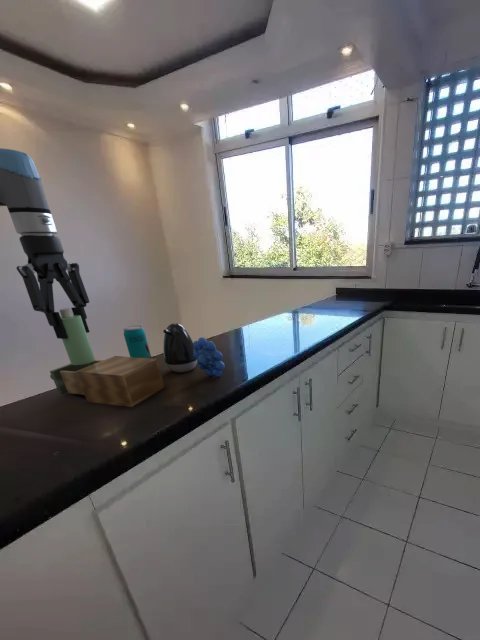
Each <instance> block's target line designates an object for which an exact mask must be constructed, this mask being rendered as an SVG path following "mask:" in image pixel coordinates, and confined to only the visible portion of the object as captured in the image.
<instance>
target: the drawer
mask: <svg viewBox="0 0 480 640" xmlns="http://www.w3.org/2000/svg"><path fill="white" fill-rule="evenodd" d="M101 361H103V359H95V361H93V362H91V363H87V364H82V365H72V364H71V363H68V364H65V365H63V366H60V367H56V368H54V369H51V370H49V373H50V375H49V377H50V379H51V380H53V382H54V385H55V388H56V390H57V392H58V394H59V395H64V394H67V393H68V394H72V395H73V394H75V395H81V396H85V395H84V392H83V389H82V387H81V384H80V382H79V379H78V376H77V374H76V371H78V370H80V369H83V368H85V367H88V366H91V365H93V364H96V363H98V362H101Z"/></svg>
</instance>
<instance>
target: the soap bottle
mask: <svg viewBox="0 0 480 640" xmlns="http://www.w3.org/2000/svg"><path fill="white" fill-rule="evenodd" d="M58 312H59V314H60V317H61V320H62V323H63V325H64V328H65V331H66V334H67V336H68V338H67V339H61V341H62V343H63V347H64V348H65V351H66V354H67V357H68V359H69V362H70V364H72V365H82V364H87V363H91V362H93V361H95V360H96V357H95V354H94V351H93V349H92V346H91V342H90V340H89V337H88V333H86V330H85V327H84V324H83V321H82V318H81V316H80V315H73V312H72V309H71V308H70V307H66V308H60V309H59V311H58Z"/></svg>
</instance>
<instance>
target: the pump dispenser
mask: <svg viewBox="0 0 480 640" xmlns="http://www.w3.org/2000/svg"><path fill="white" fill-rule="evenodd" d="M162 333H163V334H164V336H163V344H162V345H163V349H162V350H163V359H164V363H165V364H166V365H167V367H168V368H169V369H170V371H172V372H175V373H178V374H179V373H181V374H182V373H188V372H190V371H192V370H194V368H196V366H197V365H198V362H197V359H195V358H194V356H193V351H194V350H195V349H194V347H193V343H194V341H193V339H192V337H191V335H190V333H189V332H188V331H187V329H186V328H185V327H184V326H183V325H182V324H180V323H178V322H173V323H170V324H168V325H167V326H166V329H163V332H162Z"/></svg>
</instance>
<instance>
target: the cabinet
mask: <svg viewBox="0 0 480 640" xmlns="http://www.w3.org/2000/svg"><path fill="white" fill-rule="evenodd" d="M151 358H152V357H151ZM151 358H137V357H130V356H123V355H122V356H120V355H114V356H111V357H109V358H106V359H104V360H103V359H102V360H103V361H101V362H98V363H96V364H93V365H91V366H88V367H85V368H83V369H80V370H78V371H76V374H77V376H78V379H79V382H80V384H81V387H82V389H83V392H84V395H83V396H84V397H85V400H86V402H87V403H94V404H95V403H96V404H101V405H103V404H104V405H109V406H110V405H111V406H118V407H125V408H127V407H128V408H133V407H134V406H136V405H138V404H140V403H141V402H142V401H145V400H146V399H148V398H150V397H151V396H152V395H155V394H156V393H158V392H159V391H161V390H163V389H164V388H165V383H164V379H163V376H162V372H161V368H160V364H159V360H158V358H152V359H151Z"/></svg>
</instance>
